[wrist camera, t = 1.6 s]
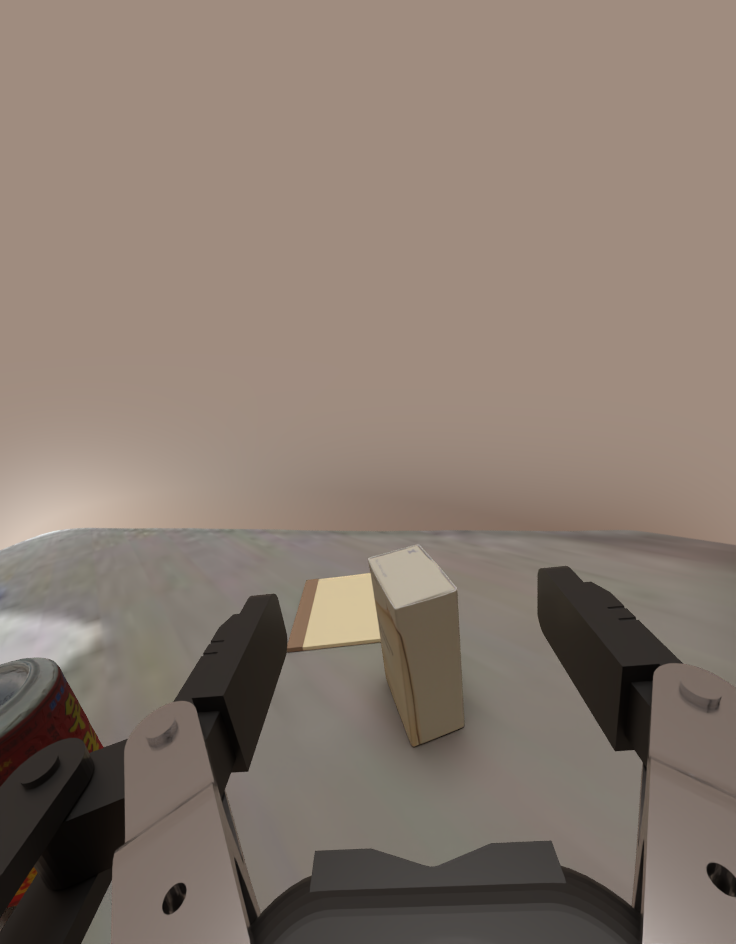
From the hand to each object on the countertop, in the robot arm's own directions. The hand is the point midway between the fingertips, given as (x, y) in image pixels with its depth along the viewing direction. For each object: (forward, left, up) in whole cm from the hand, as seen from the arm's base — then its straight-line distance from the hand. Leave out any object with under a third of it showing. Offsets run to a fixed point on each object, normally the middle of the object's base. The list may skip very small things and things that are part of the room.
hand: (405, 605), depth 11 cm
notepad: (+5, -24, -19) cm, 31 cm away
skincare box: (0, -12, -19) cm, 22 cm away
